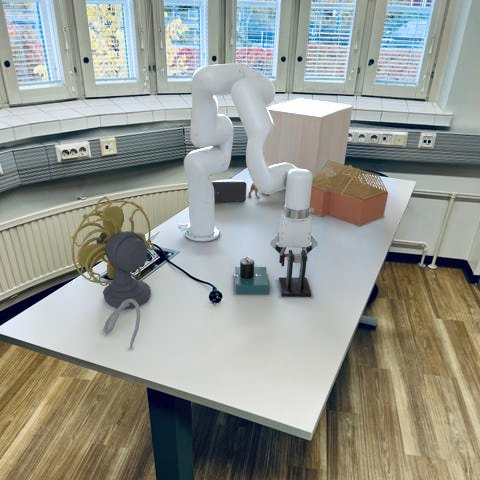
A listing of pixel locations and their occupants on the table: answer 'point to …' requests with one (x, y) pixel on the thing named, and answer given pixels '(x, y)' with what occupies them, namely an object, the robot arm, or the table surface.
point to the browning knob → (246, 268)
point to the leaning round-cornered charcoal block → (229, 191)
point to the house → (348, 195)
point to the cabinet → (308, 134)
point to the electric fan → (116, 259)
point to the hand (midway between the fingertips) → (292, 264)
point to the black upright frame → (295, 279)
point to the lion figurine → (255, 191)
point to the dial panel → (252, 282)
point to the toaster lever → (296, 258)
